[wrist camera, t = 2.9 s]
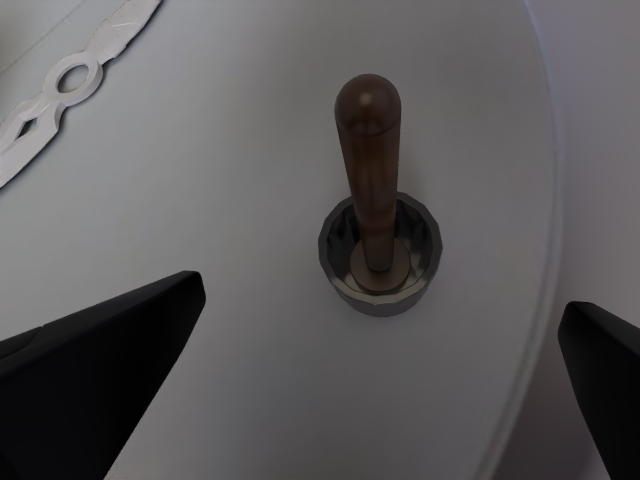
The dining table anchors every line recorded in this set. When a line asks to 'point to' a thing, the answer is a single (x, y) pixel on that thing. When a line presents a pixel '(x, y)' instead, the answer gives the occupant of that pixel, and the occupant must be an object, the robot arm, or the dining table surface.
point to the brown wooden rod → (373, 179)
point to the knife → (109, 41)
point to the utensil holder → (410, 229)
